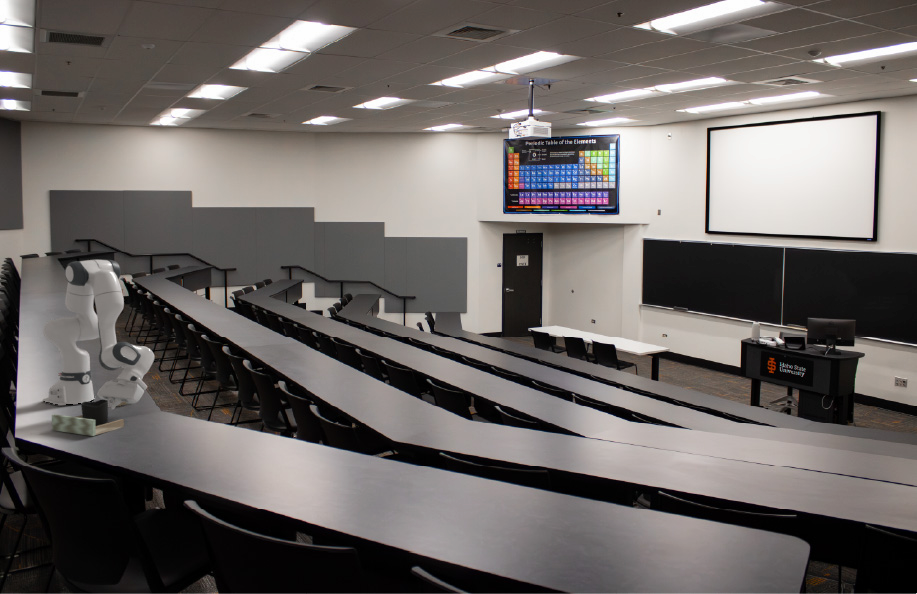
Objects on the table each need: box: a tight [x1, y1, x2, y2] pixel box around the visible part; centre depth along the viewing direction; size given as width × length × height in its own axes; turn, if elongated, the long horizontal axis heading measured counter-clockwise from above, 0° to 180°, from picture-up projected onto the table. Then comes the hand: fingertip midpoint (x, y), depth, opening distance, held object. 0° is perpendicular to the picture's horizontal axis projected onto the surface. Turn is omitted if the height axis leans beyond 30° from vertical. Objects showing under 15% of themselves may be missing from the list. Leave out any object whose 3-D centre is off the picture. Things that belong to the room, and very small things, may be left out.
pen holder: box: [80, 399, 109, 426], centre depth 275 cm, size 9×9×10 cm
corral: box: [51, 414, 125, 437], centre depth 273 cm, size 21×15×6 cm
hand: (109, 408), depth 283 cm, fingers closed
